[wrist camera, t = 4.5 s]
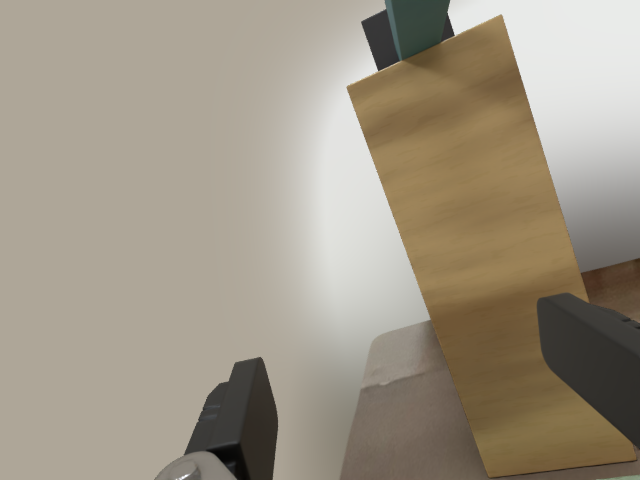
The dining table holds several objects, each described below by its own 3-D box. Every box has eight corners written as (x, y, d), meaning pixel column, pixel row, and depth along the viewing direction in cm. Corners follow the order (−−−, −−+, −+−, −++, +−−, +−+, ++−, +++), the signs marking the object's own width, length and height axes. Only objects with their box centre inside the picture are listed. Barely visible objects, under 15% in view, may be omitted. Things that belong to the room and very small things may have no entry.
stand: (637, 460, 28) (501, 13, 24) (488, 478, 31) (345, 86, 27) (534, 304, 54) (461, 79, 50) (459, 322, 57) (385, 112, 53)
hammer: (543, -132, 10) (481, -356, 9) (326, -13, 12) (260, -195, 11) (451, 66, 37) (434, 12, 36) (388, 94, 38) (370, 42, 38)
